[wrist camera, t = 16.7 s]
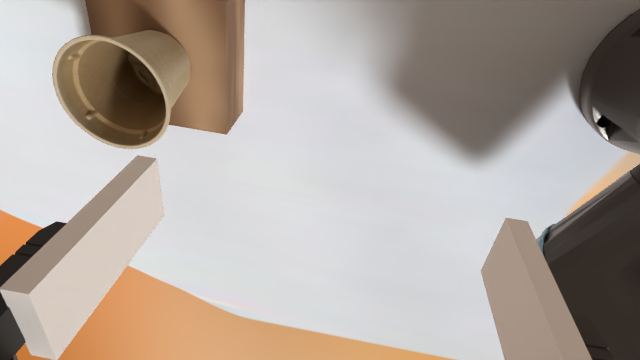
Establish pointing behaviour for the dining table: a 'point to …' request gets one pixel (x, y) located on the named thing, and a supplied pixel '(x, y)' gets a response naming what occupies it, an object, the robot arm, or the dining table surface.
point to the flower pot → (121, 85)
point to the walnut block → (189, 51)
